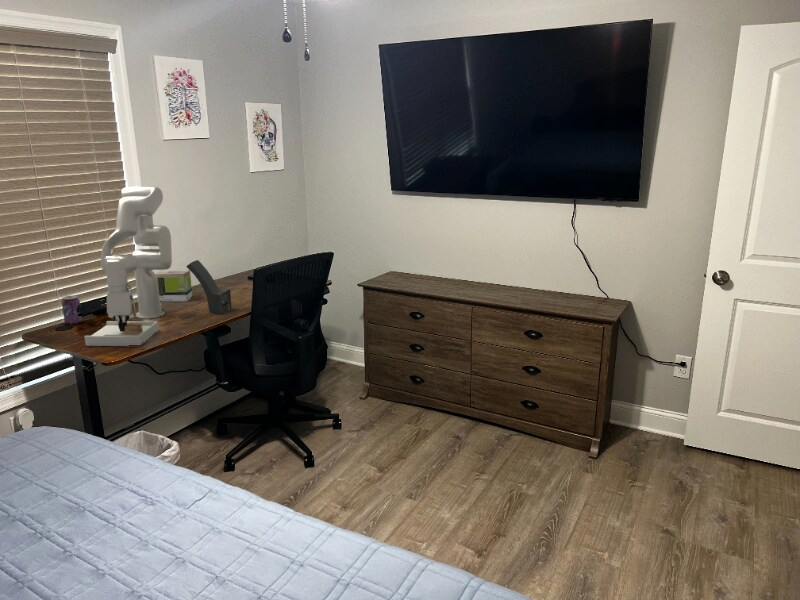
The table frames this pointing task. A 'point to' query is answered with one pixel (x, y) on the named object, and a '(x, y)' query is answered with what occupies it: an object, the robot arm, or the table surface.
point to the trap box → (120, 335)
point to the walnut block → (133, 328)
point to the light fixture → (211, 289)
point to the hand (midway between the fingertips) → (123, 330)
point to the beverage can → (71, 309)
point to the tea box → (174, 285)
